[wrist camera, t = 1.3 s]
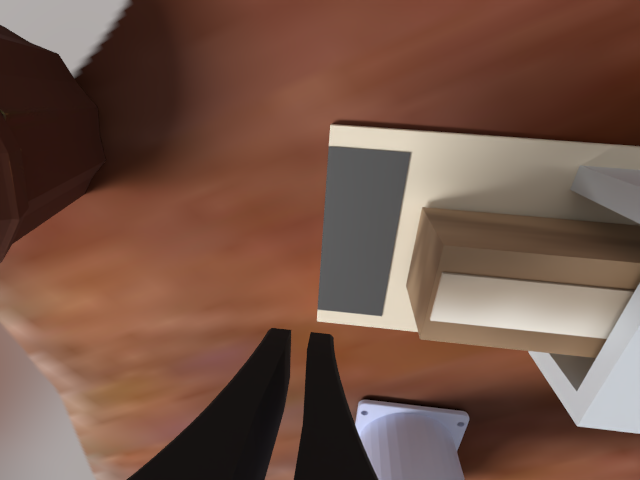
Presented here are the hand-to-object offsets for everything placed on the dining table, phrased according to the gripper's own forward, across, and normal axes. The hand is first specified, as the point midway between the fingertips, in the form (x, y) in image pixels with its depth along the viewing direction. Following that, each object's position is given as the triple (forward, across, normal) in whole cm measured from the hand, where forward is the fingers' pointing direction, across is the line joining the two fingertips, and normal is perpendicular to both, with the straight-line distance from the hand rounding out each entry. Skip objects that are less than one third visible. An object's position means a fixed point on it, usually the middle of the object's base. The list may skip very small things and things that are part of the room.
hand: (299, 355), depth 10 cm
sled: (+9, -14, 0) cm, 17 cm away
